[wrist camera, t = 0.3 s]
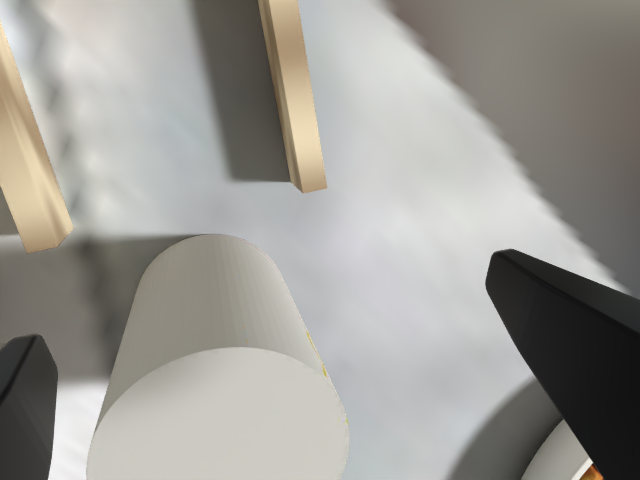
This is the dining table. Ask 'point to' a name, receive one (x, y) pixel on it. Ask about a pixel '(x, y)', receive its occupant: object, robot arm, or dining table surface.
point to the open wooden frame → (36, 171)
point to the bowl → (561, 459)
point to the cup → (217, 376)
